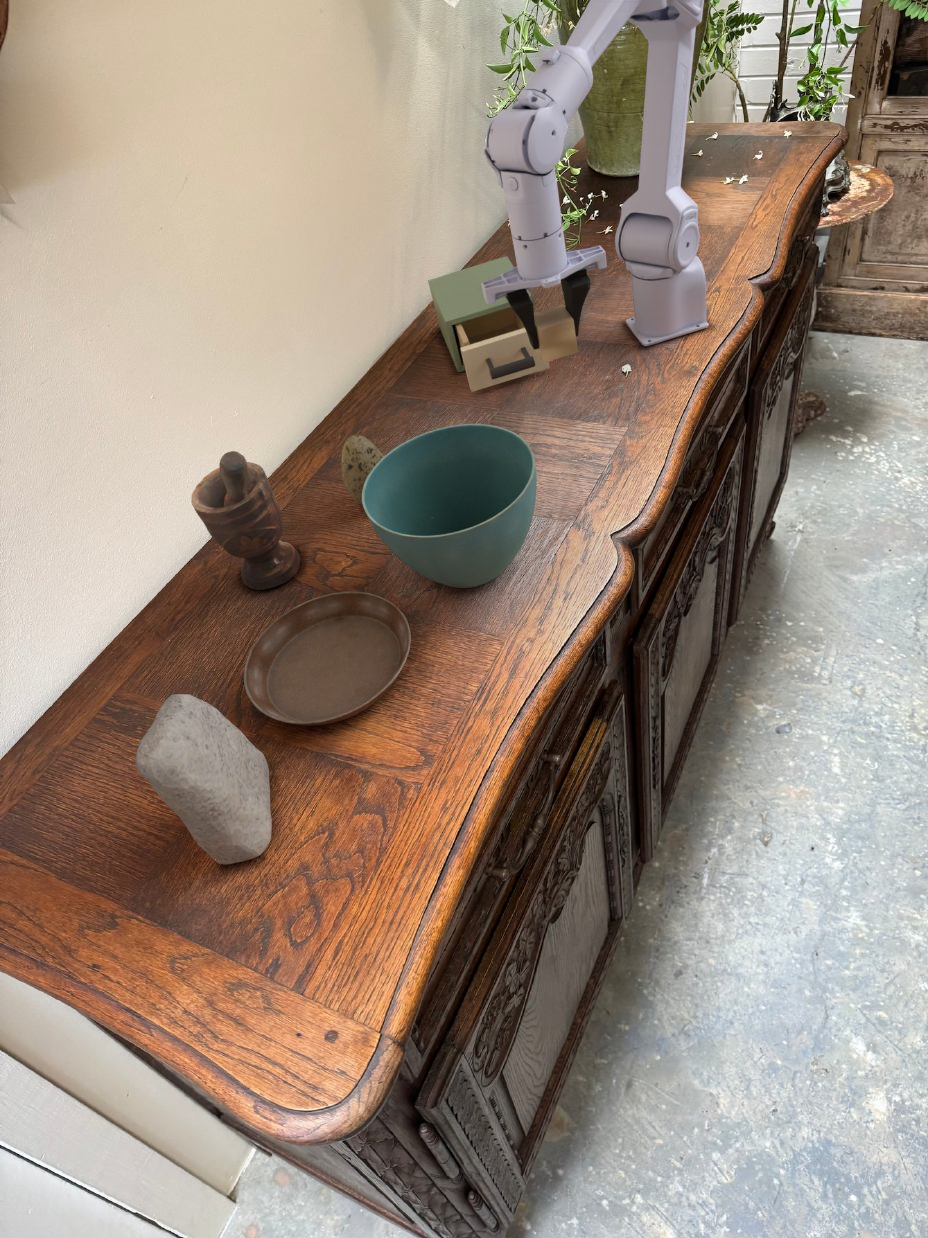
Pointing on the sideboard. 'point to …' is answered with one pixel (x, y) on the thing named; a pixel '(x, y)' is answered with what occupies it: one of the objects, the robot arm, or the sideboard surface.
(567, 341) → the block
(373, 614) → the plant saucer
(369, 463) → the decorative egg
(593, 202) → the sideboard surface
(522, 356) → the drawer
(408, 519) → the plant pot
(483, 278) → the cabinet
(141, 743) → the decorative stone
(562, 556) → the sideboard surface
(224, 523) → the mortar and pestle
